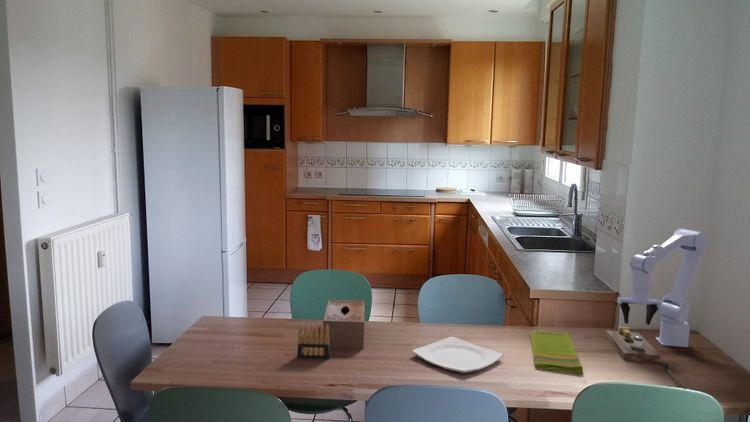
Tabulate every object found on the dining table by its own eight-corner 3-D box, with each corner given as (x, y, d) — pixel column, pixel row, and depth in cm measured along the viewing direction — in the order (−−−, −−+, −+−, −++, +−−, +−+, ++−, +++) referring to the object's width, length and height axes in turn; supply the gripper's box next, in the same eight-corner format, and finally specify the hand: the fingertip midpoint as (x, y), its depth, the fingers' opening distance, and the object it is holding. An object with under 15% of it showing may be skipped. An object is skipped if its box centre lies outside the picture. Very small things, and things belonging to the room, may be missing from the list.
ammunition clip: (329, 357, 193) (330, 322, 192) (329, 359, 192) (330, 324, 190) (297, 356, 193) (298, 321, 192) (296, 358, 191) (297, 323, 190)
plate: (451, 341, 214) (451, 334, 213) (507, 361, 196) (508, 354, 196) (406, 357, 196) (406, 350, 196) (464, 381, 179) (465, 372, 179)
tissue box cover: (327, 324, 228) (328, 299, 226) (363, 325, 228) (364, 300, 226) (322, 348, 202) (323, 320, 201) (363, 349, 202) (364, 322, 201)
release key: (628, 332, 222) (629, 327, 221) (633, 337, 217) (633, 331, 216) (617, 332, 222) (618, 326, 222) (621, 336, 217) (622, 331, 217)
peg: (638, 353, 207) (640, 335, 206) (643, 357, 204) (645, 338, 203) (630, 353, 207) (632, 335, 206) (635, 357, 204) (637, 338, 203)
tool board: (637, 338, 223) (638, 332, 223) (659, 362, 199) (660, 355, 199) (605, 336, 225) (606, 330, 224) (623, 359, 201) (624, 352, 201)
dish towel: (534, 370, 190) (535, 361, 189) (528, 335, 225) (529, 327, 224) (583, 376, 187) (584, 366, 186) (570, 339, 222) (570, 331, 221)
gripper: (656, 285, 212) (653, 321, 214) (616, 283, 214) (613, 318, 216) (664, 290, 206) (660, 327, 207) (622, 288, 207) (618, 324, 209)
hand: (636, 323), depth 211 cm, fingers open, 7 cm apart
